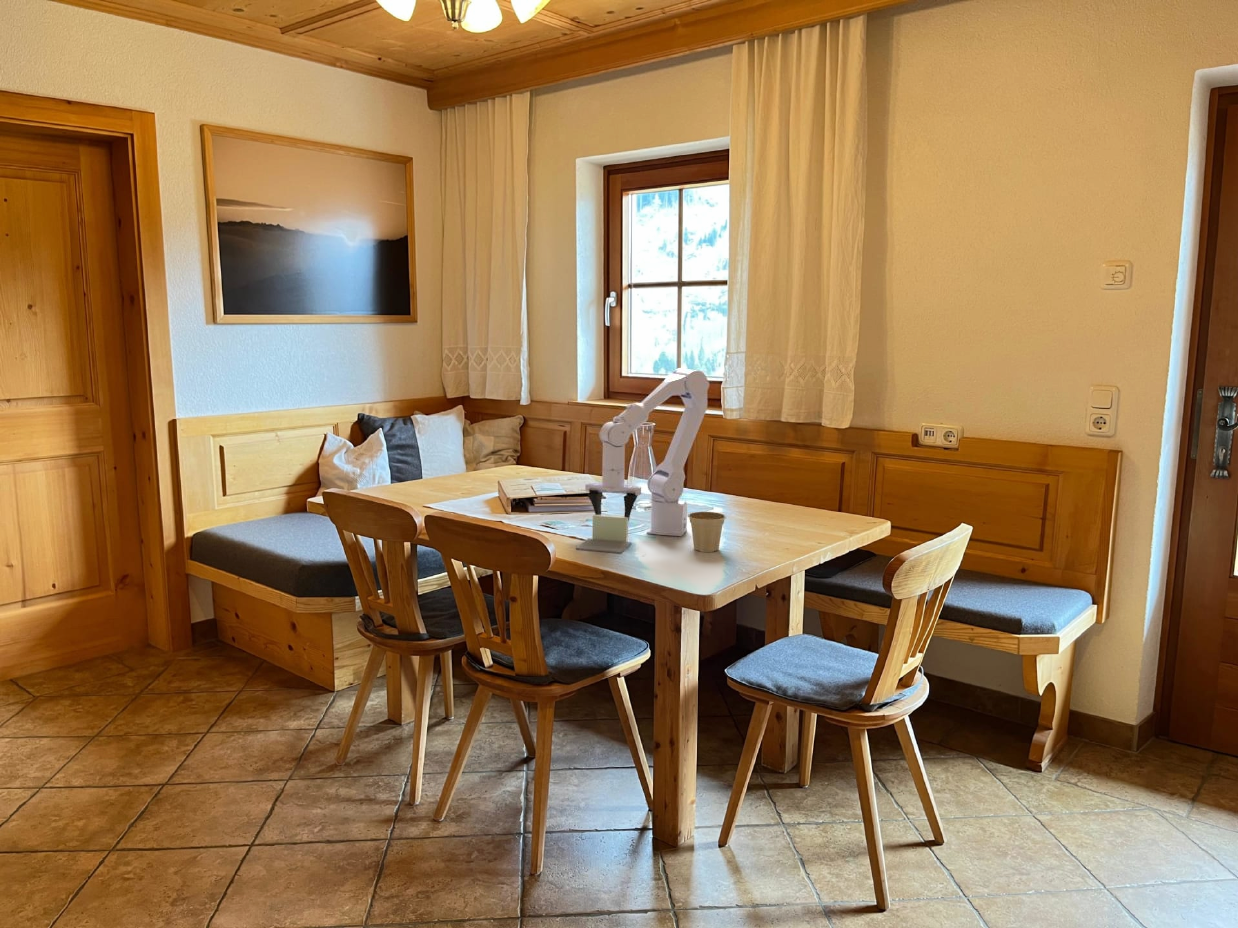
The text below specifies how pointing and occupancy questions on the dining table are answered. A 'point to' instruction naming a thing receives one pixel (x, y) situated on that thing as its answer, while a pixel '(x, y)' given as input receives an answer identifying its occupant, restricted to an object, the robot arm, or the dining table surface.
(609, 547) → the mat
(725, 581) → the dining table surface
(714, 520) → the flower pot
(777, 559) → the dining table surface
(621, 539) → the tile
